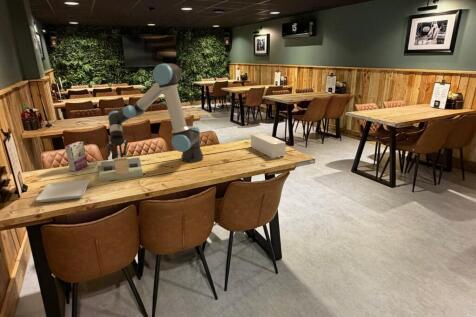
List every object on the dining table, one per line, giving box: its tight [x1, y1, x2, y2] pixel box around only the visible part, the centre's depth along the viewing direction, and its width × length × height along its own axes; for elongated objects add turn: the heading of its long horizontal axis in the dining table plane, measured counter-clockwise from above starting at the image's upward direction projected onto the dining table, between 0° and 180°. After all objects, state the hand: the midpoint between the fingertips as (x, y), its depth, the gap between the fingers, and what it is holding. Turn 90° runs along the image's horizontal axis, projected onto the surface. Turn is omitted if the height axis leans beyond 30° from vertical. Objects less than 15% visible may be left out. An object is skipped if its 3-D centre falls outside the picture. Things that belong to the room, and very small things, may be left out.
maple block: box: [113, 156, 129, 175], centre depth 176 cm, size 7×7×8 cm
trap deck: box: [98, 157, 144, 182], centre depth 187 cm, size 30×24×2 cm
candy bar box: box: [64, 141, 88, 172], centre depth 189 cm, size 11×5×16 cm, turn 168°
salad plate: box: [35, 179, 91, 203], centre depth 155 cm, size 21×21×3 cm
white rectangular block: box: [250, 132, 286, 159], centre depth 222 cm, size 32×11×11 cm, turn 26°
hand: (120, 165), depth 183 cm, fingers closed
